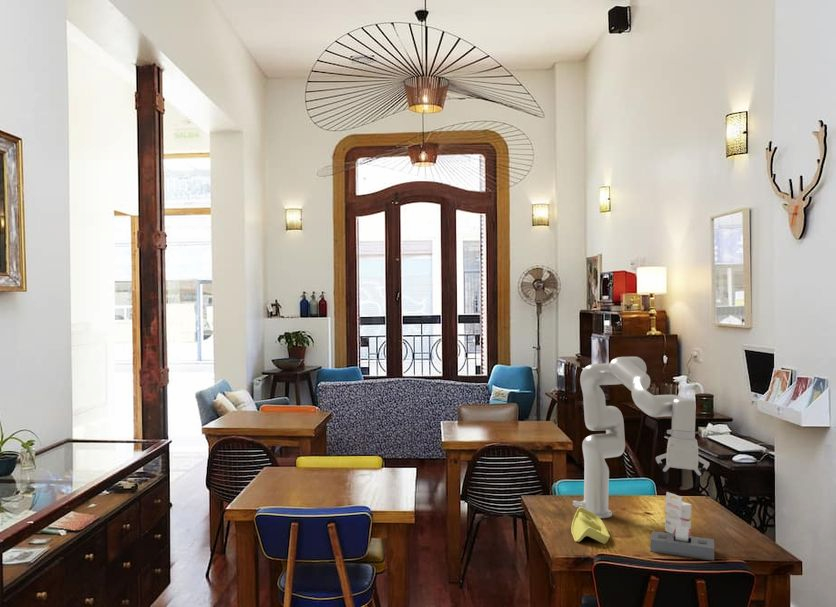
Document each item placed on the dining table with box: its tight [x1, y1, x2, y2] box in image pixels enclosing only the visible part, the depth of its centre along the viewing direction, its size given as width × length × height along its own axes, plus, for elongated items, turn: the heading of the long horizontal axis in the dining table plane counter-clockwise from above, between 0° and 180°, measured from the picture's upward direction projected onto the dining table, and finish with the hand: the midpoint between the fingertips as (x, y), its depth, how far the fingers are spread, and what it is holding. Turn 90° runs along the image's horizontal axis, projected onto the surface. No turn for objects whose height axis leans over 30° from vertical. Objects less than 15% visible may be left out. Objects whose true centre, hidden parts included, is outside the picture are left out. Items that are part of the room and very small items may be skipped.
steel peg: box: [675, 525, 689, 543], centre depth 240 cm, size 4×4×8 cm
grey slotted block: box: [649, 530, 715, 562], centre depth 240 cm, size 20×10×4 cm, turn 68°
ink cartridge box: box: [664, 491, 692, 536], centre depth 258 cm, size 9×5×15 cm, turn 23°
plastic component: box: [570, 507, 611, 545], centre depth 255 cm, size 20×7×10 cm
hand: (681, 484), depth 241 cm, fingers open, 9 cm apart
